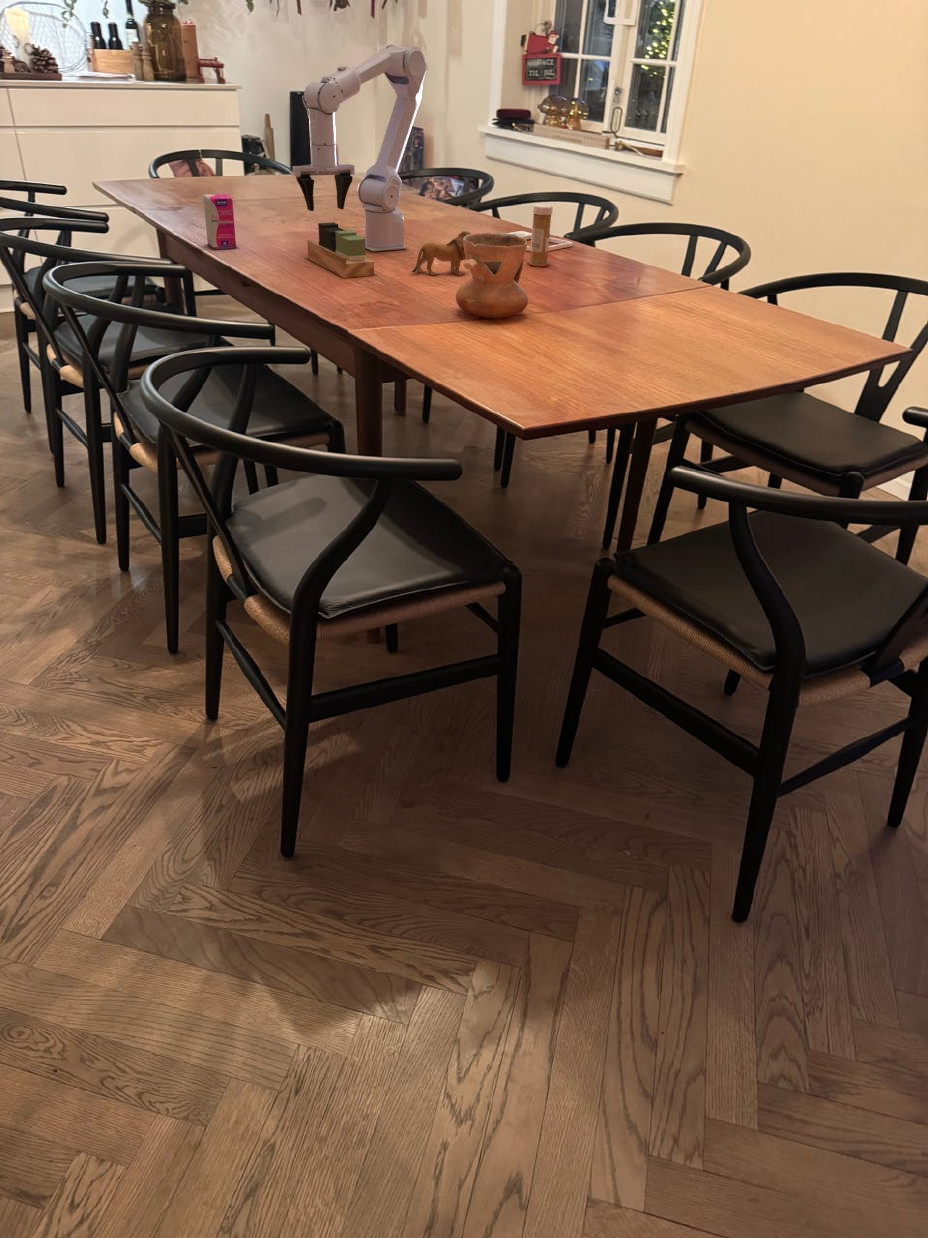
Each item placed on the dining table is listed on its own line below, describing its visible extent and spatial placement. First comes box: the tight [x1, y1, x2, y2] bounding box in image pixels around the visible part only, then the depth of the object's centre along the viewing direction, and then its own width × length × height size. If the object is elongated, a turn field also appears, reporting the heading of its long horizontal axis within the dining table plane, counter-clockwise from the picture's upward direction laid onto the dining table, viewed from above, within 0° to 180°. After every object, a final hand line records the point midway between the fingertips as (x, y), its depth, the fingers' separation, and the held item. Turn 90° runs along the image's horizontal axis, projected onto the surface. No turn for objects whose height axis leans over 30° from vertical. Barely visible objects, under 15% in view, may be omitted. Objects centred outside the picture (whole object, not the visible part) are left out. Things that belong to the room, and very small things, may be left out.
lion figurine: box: [411, 230, 472, 276], centre depth 201 cm, size 15×5×9 cm, turn 110°
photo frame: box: [505, 230, 574, 252], centre depth 235 cm, size 15×1×18 cm
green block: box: [335, 229, 367, 261], centre depth 199 cm, size 4×8×5 cm, turn 32°
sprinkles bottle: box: [529, 203, 554, 267], centre depth 212 cm, size 5×5×14 cm
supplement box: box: [202, 193, 237, 250], centre depth 214 cm, size 6×6×12 cm
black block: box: [317, 221, 346, 252], centre depth 206 cm, size 4×8×5 cm, turn 32°
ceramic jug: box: [455, 232, 529, 319], centre depth 174 cm, size 18×14×14 cm
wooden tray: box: [306, 239, 375, 279], centre depth 204 cm, size 8×20×4 cm, turn 32°
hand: (325, 209), depth 208 cm, fingers open, 7 cm apart
